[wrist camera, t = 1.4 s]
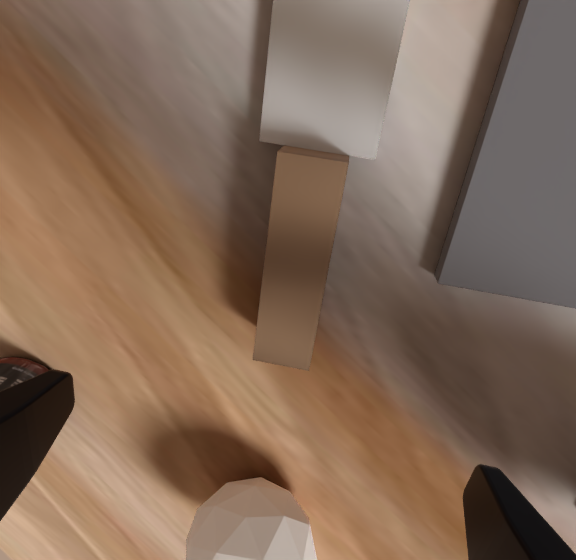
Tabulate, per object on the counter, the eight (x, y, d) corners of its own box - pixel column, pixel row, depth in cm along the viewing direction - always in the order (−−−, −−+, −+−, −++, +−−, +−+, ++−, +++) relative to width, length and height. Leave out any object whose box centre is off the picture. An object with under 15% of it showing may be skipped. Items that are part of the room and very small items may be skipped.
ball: (285, 447, 30) (345, 513, 23) (278, 553, 31) (334, 650, 24) (177, 462, 27) (206, 545, 20) (171, 580, 28) (198, 702, 21)
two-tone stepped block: (333, 343, 23) (331, 375, 21) (244, 326, 24) (230, 355, 21) (415, -37, 16) (427, -59, 13) (283, -53, 16) (269, -78, 14)
